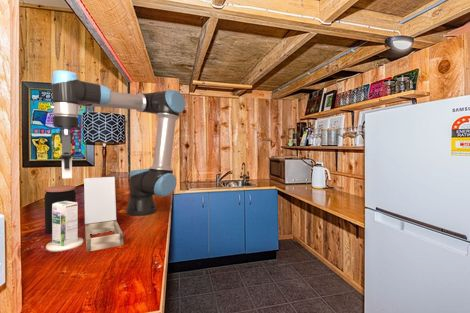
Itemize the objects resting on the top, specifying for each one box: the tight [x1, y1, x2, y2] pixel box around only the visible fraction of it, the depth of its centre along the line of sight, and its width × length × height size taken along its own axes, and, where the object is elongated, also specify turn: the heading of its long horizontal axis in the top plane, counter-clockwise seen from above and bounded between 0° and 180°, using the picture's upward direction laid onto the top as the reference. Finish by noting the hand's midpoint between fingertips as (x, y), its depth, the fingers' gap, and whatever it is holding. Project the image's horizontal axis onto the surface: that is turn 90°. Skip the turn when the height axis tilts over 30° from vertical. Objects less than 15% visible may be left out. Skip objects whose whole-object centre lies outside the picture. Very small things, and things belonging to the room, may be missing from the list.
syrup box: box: [51, 201, 79, 246], centre depth 90 cm, size 6×6×14 cm
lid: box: [83, 176, 117, 225], centre depth 105 cm, size 11×18×1 cm
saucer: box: [45, 236, 84, 252], centre depth 90 cm, size 11×11×1 cm
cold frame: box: [84, 220, 124, 252], centre depth 96 cm, size 11×18×4 cm, turn 32°
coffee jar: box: [43, 185, 77, 235], centre depth 105 cm, size 11×11×18 cm
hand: (67, 175), depth 90 cm, fingers open, 13 cm apart
